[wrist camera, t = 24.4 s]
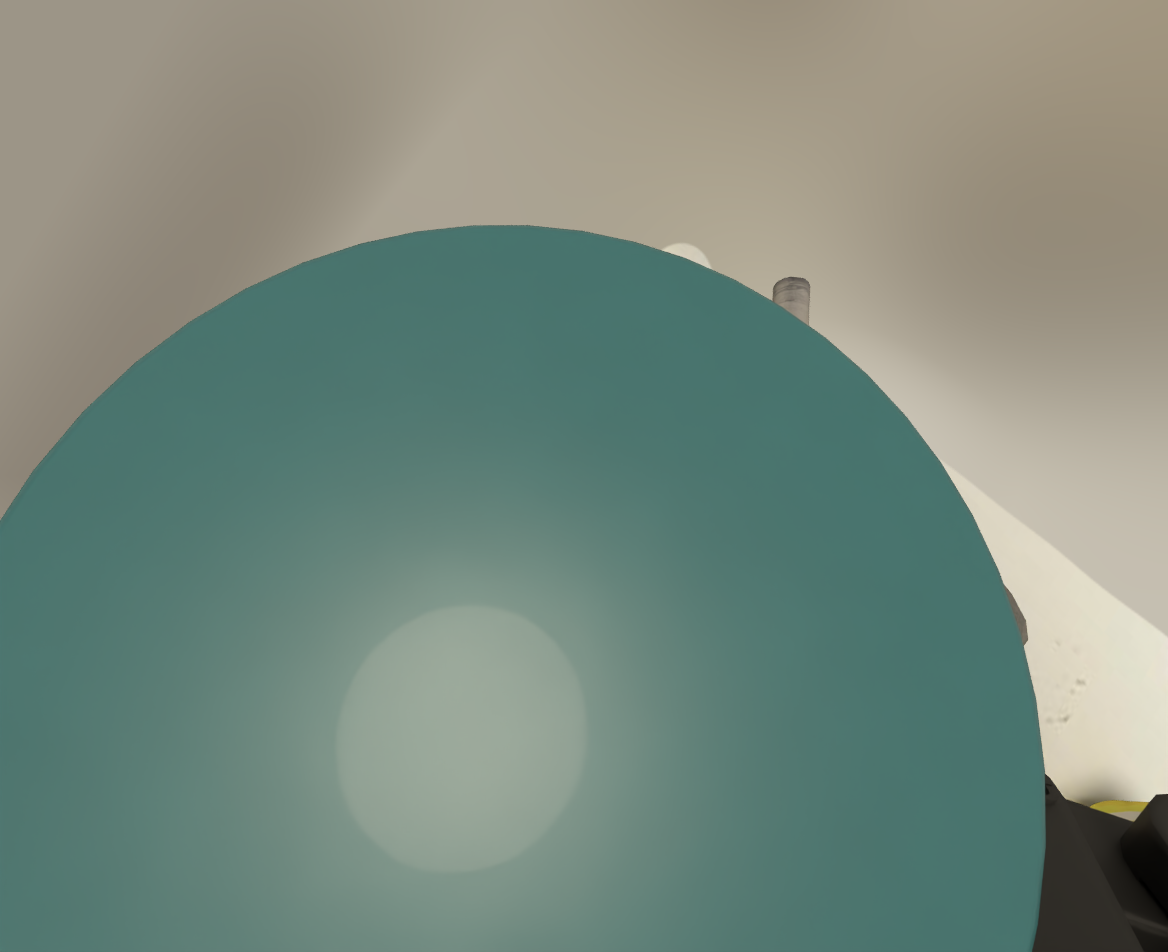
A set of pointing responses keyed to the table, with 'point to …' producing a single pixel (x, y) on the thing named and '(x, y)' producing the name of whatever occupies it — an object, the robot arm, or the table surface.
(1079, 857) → the robot arm
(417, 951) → the tin
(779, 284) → the rod
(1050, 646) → the table surface
